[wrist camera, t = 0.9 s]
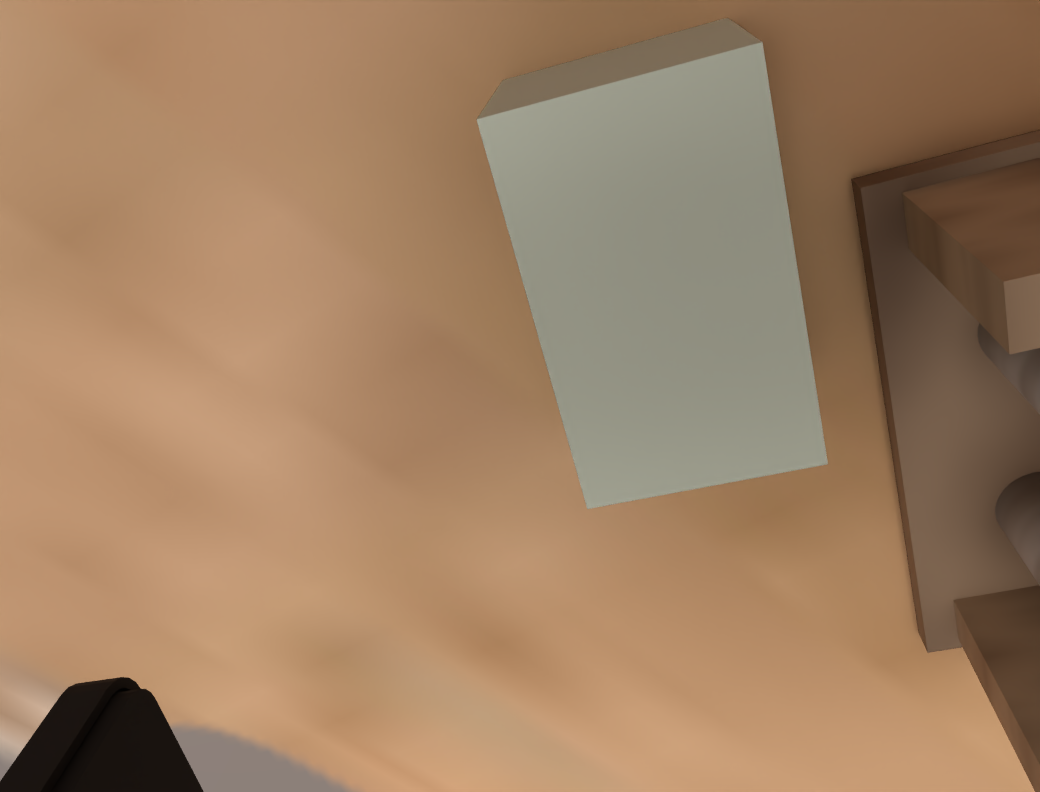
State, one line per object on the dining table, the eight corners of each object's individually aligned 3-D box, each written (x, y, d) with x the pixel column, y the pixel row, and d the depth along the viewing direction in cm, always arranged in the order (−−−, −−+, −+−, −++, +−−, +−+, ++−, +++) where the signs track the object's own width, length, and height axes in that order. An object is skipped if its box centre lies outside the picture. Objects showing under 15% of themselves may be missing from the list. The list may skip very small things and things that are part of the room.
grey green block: (727, 17, 24) (762, 42, 19) (785, 363, 28) (827, 464, 23) (503, 79, 25) (476, 119, 20) (590, 403, 29) (587, 508, 24)
